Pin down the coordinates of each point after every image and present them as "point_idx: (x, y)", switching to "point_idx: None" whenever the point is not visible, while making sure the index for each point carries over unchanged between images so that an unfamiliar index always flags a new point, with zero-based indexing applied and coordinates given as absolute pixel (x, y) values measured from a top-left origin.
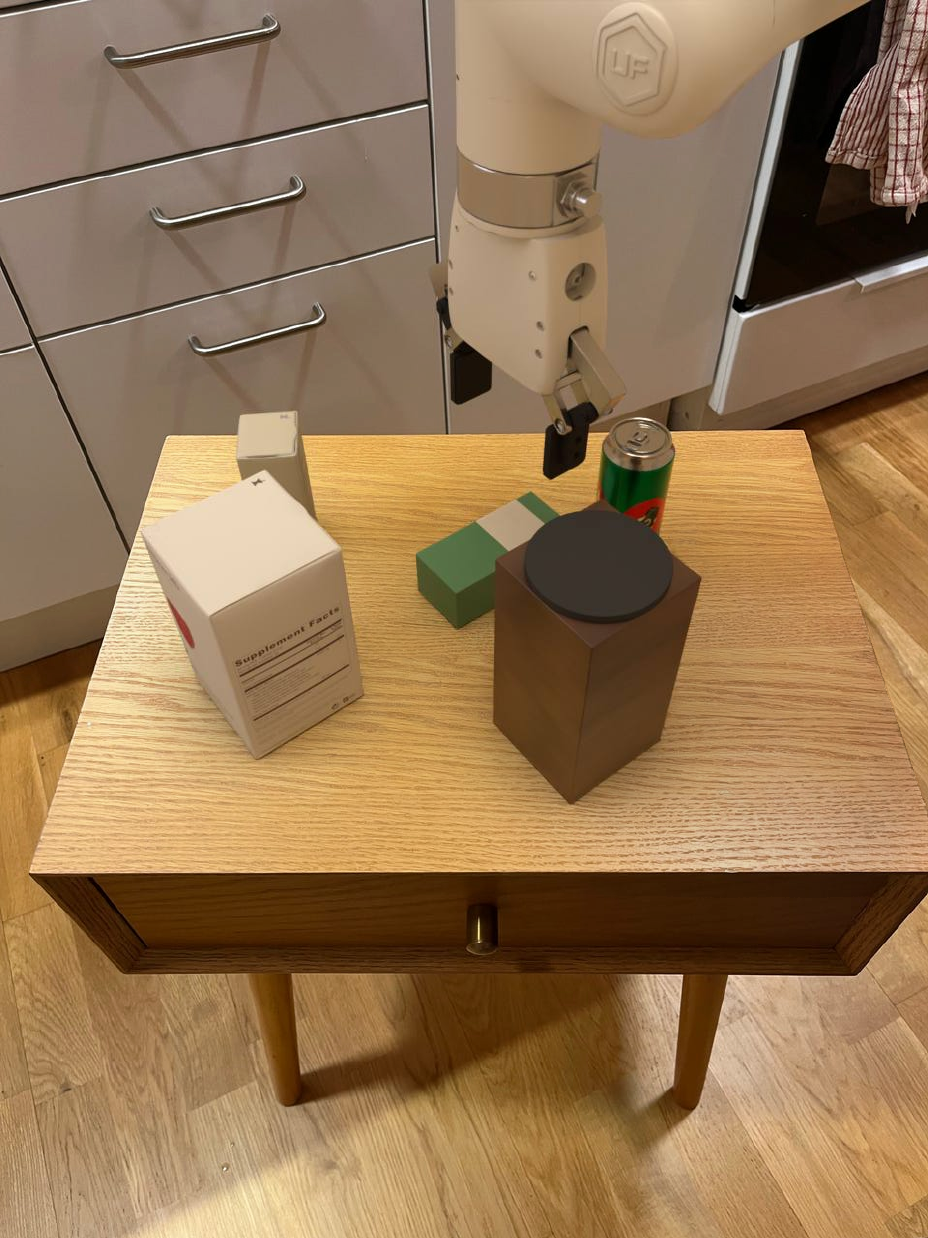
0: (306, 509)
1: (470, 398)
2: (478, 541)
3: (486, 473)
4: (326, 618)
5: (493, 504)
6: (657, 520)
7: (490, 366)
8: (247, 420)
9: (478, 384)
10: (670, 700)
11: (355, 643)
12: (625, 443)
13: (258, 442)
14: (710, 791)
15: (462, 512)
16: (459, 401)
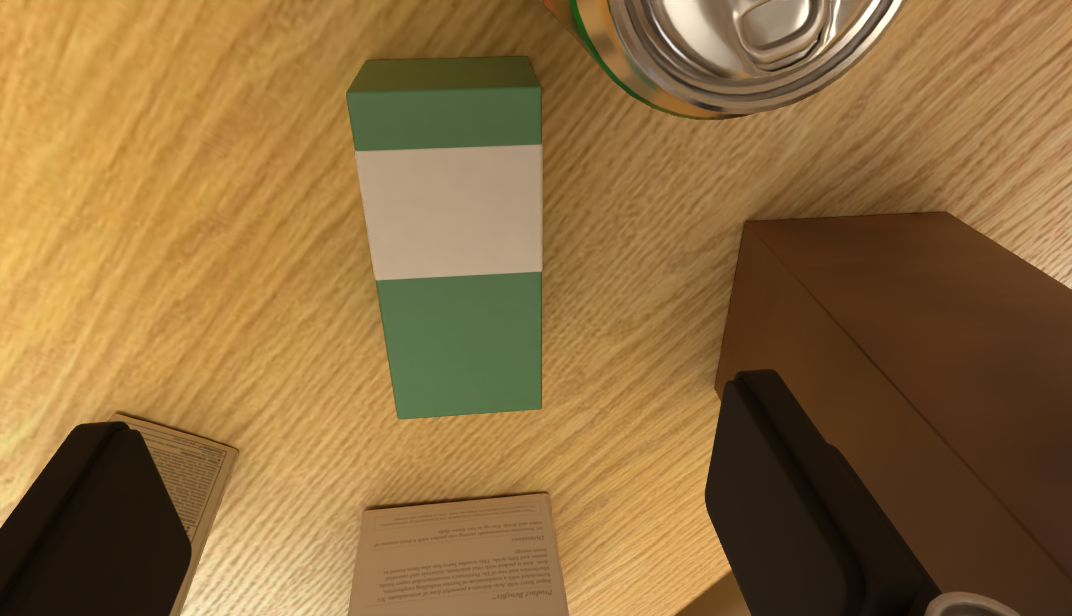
0: (194, 560)
1: (172, 514)
2: (442, 309)
3: (94, 14)
4: None
5: (235, 81)
6: None
7: (72, 543)
8: None
9: (136, 530)
10: (1038, 269)
11: (566, 604)
12: (749, 55)
13: None
14: (1058, 210)
15: (229, 164)
16: (185, 562)
